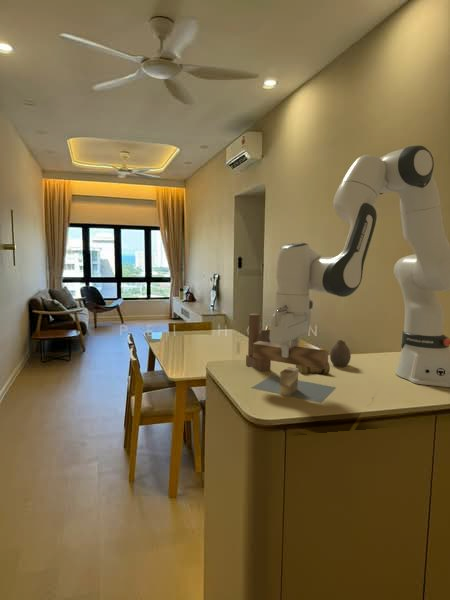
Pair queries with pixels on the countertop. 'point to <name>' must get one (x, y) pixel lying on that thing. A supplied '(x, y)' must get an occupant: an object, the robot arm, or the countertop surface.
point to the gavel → (313, 369)
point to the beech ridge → (288, 381)
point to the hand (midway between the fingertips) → (289, 354)
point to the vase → (340, 354)
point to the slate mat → (304, 389)
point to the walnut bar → (291, 355)
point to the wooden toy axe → (255, 337)
